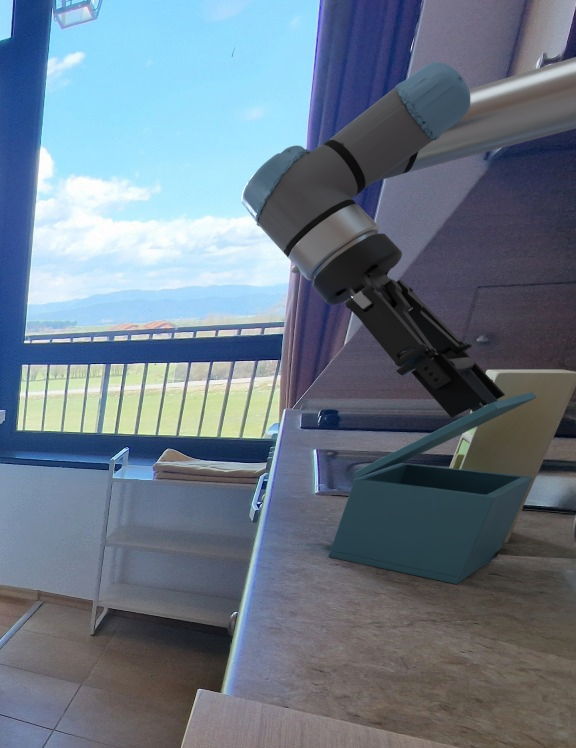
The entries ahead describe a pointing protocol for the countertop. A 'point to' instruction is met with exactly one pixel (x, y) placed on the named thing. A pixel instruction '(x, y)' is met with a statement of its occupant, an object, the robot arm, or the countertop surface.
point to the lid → (455, 428)
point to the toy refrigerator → (518, 426)
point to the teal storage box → (428, 519)
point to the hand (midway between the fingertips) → (478, 405)
